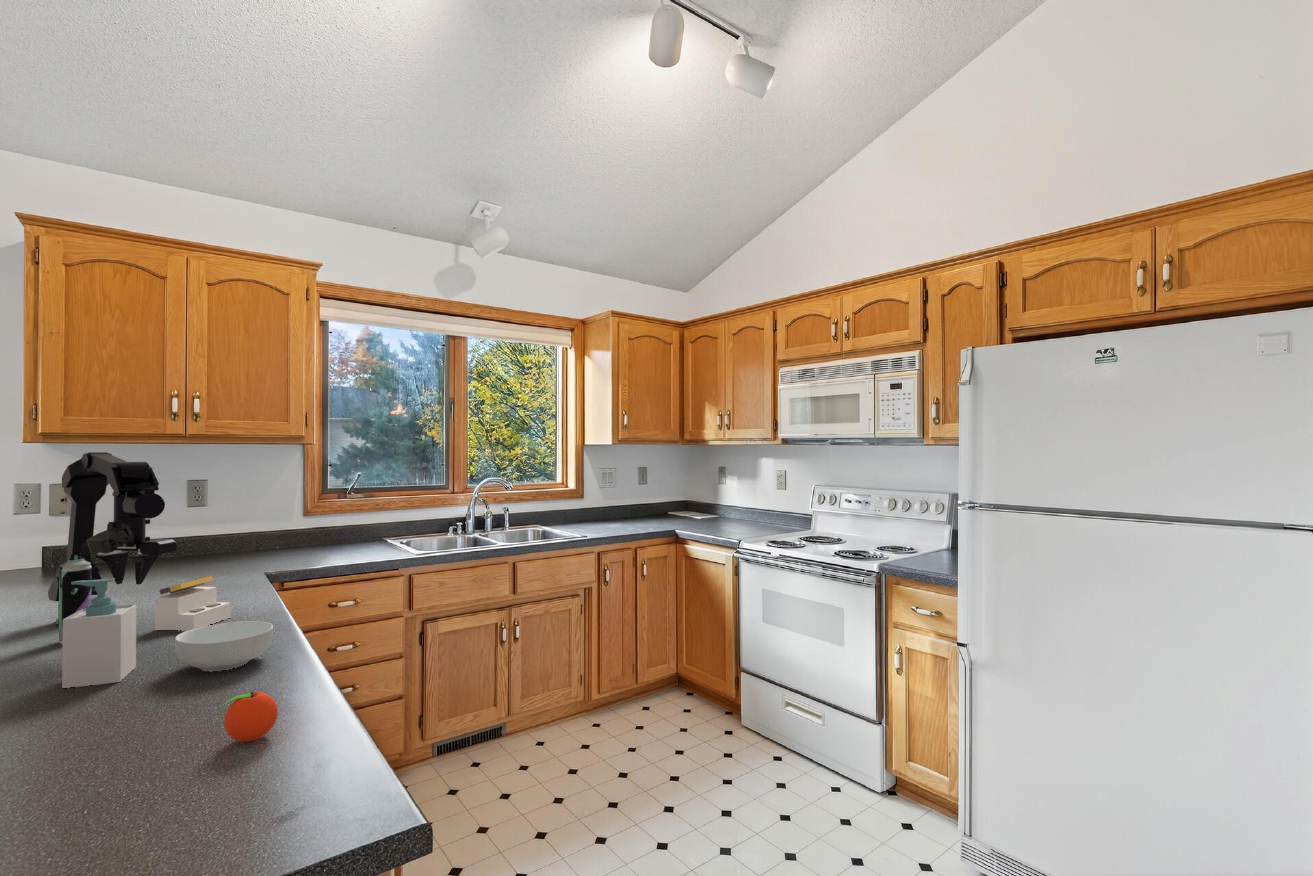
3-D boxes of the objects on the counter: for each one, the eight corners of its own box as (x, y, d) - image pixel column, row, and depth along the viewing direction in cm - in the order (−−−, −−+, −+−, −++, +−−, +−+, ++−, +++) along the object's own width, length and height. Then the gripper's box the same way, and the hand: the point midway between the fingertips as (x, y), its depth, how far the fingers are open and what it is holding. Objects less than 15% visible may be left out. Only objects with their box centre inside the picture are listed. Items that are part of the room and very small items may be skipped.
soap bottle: (80, 674, 125) (81, 576, 125) (136, 668, 128) (137, 573, 128) (60, 689, 117) (61, 585, 117) (120, 682, 120) (120, 581, 120)
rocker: (161, 596, 155) (159, 589, 155) (194, 587, 165) (192, 581, 165) (181, 590, 155) (180, 584, 155) (213, 582, 165) (212, 575, 165)
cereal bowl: (284, 664, 130) (284, 629, 130) (184, 687, 118) (185, 649, 118) (259, 647, 141) (259, 615, 142) (166, 666, 129) (166, 631, 129)
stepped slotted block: (155, 630, 154) (155, 597, 154) (194, 617, 166) (195, 586, 166) (193, 631, 153) (193, 598, 154) (230, 618, 165) (231, 587, 166)
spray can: (71, 645, 143) (72, 556, 143) (52, 643, 144) (52, 555, 144) (97, 637, 148) (97, 552, 149) (78, 636, 150) (79, 551, 150)
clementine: (210, 755, 92) (210, 705, 92) (221, 735, 98) (221, 689, 98) (274, 744, 95) (274, 697, 95) (281, 726, 101) (281, 681, 101)
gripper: (56, 520, 139) (56, 591, 139) (136, 520, 138) (135, 592, 138) (105, 514, 150) (104, 580, 150) (178, 515, 149) (178, 581, 149)
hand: (129, 584), depth 146 cm, fingers open, 5 cm apart
